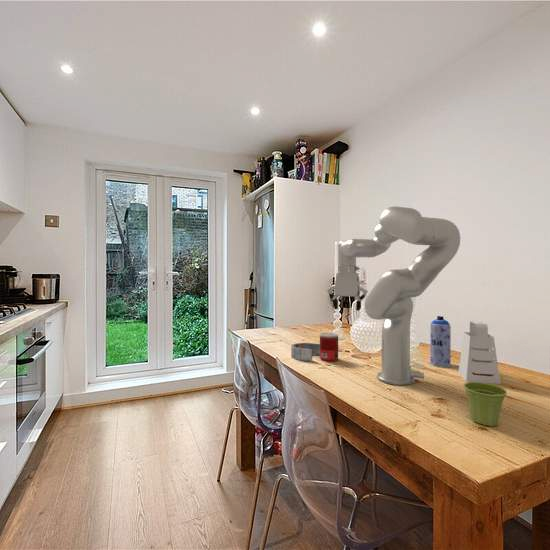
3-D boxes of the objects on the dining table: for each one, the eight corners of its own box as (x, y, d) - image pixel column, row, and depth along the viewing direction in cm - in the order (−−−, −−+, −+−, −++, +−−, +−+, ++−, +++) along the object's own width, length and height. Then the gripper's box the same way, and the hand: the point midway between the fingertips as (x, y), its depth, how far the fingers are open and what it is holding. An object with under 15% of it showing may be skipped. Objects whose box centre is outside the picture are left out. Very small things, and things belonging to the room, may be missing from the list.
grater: (489, 374, 124) (489, 321, 123) (500, 384, 114) (500, 325, 113) (458, 372, 126) (458, 320, 126) (466, 381, 116) (466, 324, 116)
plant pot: (489, 413, 91) (489, 381, 91) (515, 429, 81) (516, 394, 81) (456, 413, 91) (456, 382, 90) (478, 430, 81) (478, 395, 81)
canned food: (339, 361, 142) (339, 336, 141) (320, 361, 142) (320, 336, 142) (336, 357, 149) (336, 332, 149) (318, 357, 149) (318, 332, 149)
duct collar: (320, 354, 154) (320, 343, 154) (311, 361, 142) (311, 350, 142) (297, 352, 159) (297, 341, 159) (286, 358, 147) (286, 347, 147)
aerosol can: (426, 364, 137) (426, 316, 137) (435, 360, 142) (435, 314, 142) (445, 368, 131) (445, 318, 131) (454, 364, 136) (454, 316, 136)
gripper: (369, 269, 141) (369, 309, 141) (330, 269, 149) (330, 307, 150) (365, 269, 134) (365, 311, 135) (324, 269, 143) (324, 309, 143)
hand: (346, 309), depth 142 cm, fingers open, 9 cm apart
